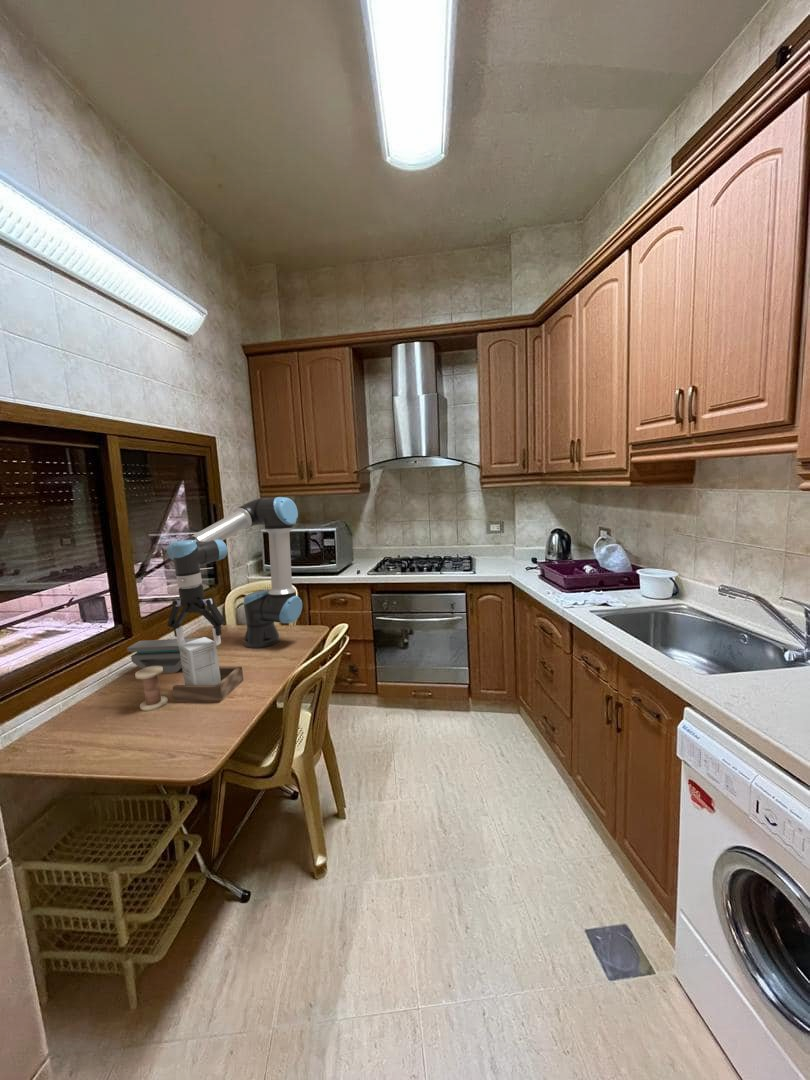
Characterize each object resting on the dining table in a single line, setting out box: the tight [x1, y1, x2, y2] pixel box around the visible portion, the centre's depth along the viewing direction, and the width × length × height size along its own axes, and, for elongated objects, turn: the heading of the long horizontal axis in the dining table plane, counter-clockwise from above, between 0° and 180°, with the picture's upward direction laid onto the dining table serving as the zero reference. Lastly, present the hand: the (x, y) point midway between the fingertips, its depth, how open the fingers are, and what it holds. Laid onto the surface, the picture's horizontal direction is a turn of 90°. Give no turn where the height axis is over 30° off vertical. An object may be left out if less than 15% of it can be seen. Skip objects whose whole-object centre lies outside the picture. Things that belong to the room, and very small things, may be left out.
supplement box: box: [179, 636, 221, 685], centre depth 157 cm, size 10×9×17 cm
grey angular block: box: [126, 637, 200, 674], centre depth 179 cm, size 25×8×11 cm, turn 88°
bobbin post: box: [134, 666, 169, 712], centre depth 149 cm, size 8×8×12 cm
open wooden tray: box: [171, 666, 244, 703], centre depth 157 cm, size 16×16×5 cm
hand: (199, 644), depth 156 cm, fingers open, 13 cm apart
